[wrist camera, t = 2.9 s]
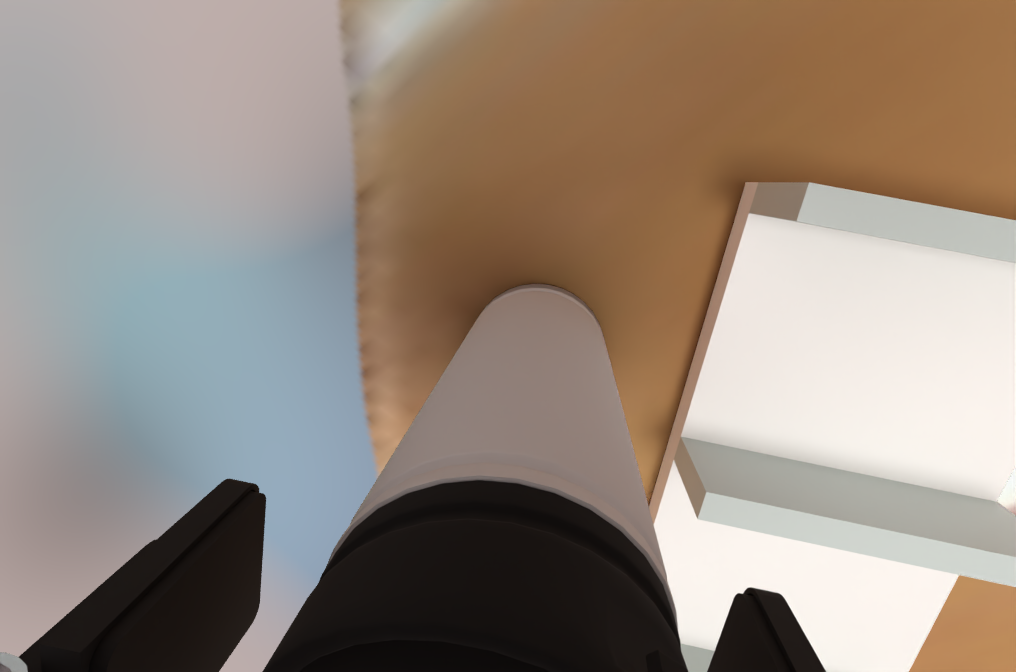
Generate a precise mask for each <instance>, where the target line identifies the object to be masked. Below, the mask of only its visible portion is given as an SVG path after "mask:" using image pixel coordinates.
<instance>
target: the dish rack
mask: <svg viewBox="0 0 1016 672" xmlns="http://www.w3.org/2000/svg"><path fill="white" fill-rule="evenodd" d="M1015 466H1016V220H1011V219H1006V218H1000V217H995V216H989V215H984V214H979V213H973V212H968V211H962V210H957V209H951V208H946V207H940V206H935V205H930V204H924V203H919V202H913V201H908V200H902V199H897V198H892V197H886V196H881V195H875V194H870V193H864V192H859V191H853V190H848V189H843V188H837V187H832V186H826V185H821V184H815V183H810V182H746V183H745V187H744V190H743V193H742V197H741V200H740V203H739V207H738V210H737V213H736V217H735V220H734V223H733V227H732V230H731V233H730V237H729V240H728V243H727V247H726V250H725V253H724V257H723V260H722V264H721V267H720V270H719V274H718V277H717V280H716V284H715V287H714V290H713V294H712V297H711V300H710V304H709V307H708V310H707V314H706V317H705V320H704V324H703V327H702V331H701V334H700V337H699V341H698V344H697V347H696V351H695V354H694V357H693V361H692V364H691V367H690V371H689V374H688V377H687V381H686V384H685V387H684V391H683V394H682V398H681V401H680V404H679V408H678V411H677V414H676V418H675V421H674V424H673V428H672V431H671V434H670V438H669V441H668V444H667V448H666V451H665V454H664V458H663V461H662V464H661V468H660V471H659V475H658V478H657V481H656V485H655V488H654V491H653V495H652V498H651V501H650V505H649V510H650V514H651V517H652V521H653V525H654V529H655V533H656V536H657V540H658V544H659V548H660V551H661V555H662V559H663V563H664V567H665V570H666V574H667V582H668V585H669V588H670V591H671V594H672V597H673V601H674V604H675V608H676V612H677V623H678V634H679V638H680V644H681V652H682V655H683V658H684V660H685V663H686V666H687V669H688V672H707V671H708V668H709V665H710V662H711V660H712V657H713V654H714V651H715V649H716V646H717V643H718V640H719V638H720V635H721V632H722V629H723V627H724V624H725V621H726V618H727V616H728V613H729V610H730V607H731V605H732V602H733V599H734V597H735V595H736V594H737V593H742V594H743V593H744V591H745V590H746V589H747V588H749V587H752V588H757V589H762V590H767V591H771V592H776V593H779V594H781V595H782V596H783V597H784V598H785V600H786V602H787V603H788V605H789V607H790V609H791V610H792V612H793V614H794V616H795V617H796V619H797V621H798V623H799V625H800V626H801V628H802V630H803V632H804V633H805V635H806V637H807V639H808V640H809V642H810V644H811V646H812V647H813V649H814V651H815V653H816V655H817V656H818V658H819V660H820V662H821V663H822V665H823V667H824V669H825V670H826V672H909V670H910V668H911V666H912V664H913V662H914V660H915V659H916V657H917V655H918V653H919V651H920V649H921V647H922V645H923V643H924V641H925V639H926V637H927V635H928V634H929V632H930V630H931V628H932V626H933V624H934V622H935V620H936V618H937V616H938V614H939V612H940V611H941V609H942V607H943V605H944V603H945V601H946V599H947V597H948V595H949V593H950V591H951V589H952V587H953V586H954V584H955V582H956V580H957V578H958V576H959V575H962V576H966V577H971V578H976V579H980V580H985V581H990V582H995V583H999V584H1004V585H1009V586H1013V587H1016V515H1014V514H1013V513H1012V512H1010V511H1009V510H1007V509H1006V508H1005V507H1003V506H1002V505H1001V504H999V503H998V502H997V501H998V499H999V497H1000V495H1001V493H1002V491H1003V489H1004V488H1005V486H1006V484H1007V482H1008V480H1009V478H1010V476H1011V474H1012V472H1013V470H1014V468H1015Z"/></svg>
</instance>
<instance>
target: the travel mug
mask: <svg viewBox="0 0 1016 672" xmlns="http://www.w3.org/2000/svg"><path fill="white" fill-rule="evenodd" d="M263 672H688V669H687V666H686V663H685V660H684V658H683V655H682V652H681V644H680V638H679V634H678V623H677V612H676V608H675V604H674V601H673V597H672V594H671V591H670V588H669V585H668V582H667V574H666V570H665V567H664V563H663V559H662V555H661V551H660V548H659V544H658V540H657V536H656V533H655V529H654V525H653V521H652V517H651V514H650V510H649V506H648V502H647V499H646V495H645V491H644V487H643V483H642V480H641V476H640V472H639V468H638V465H637V461H636V457H635V453H634V449H633V446H632V442H631V438H630V434H629V431H628V427H627V423H626V419H625V415H624V412H623V408H622V404H621V400H620V397H619V393H618V389H617V385H616V381H615V378H614V374H613V370H612V366H611V363H610V359H609V355H608V351H607V347H606V344H605V340H604V336H603V333H602V330H601V327H600V324H599V322H598V320H597V318H596V317H595V315H594V313H593V312H592V310H591V309H590V308H589V307H588V306H587V305H586V304H585V303H584V302H583V301H582V300H581V299H579V298H578V297H577V296H575V295H574V294H573V293H570V292H568V291H566V290H564V289H562V288H559V287H555V286H551V285H547V284H528V285H521V286H518V287H515V288H512V289H509V290H507V291H505V292H503V293H502V294H500V295H498V296H497V297H495V298H494V299H493V300H492V301H491V302H490V303H489V304H488V305H487V306H486V307H485V308H484V310H483V311H482V312H481V314H480V315H479V317H478V318H477V320H476V321H475V323H474V325H473V326H472V328H471V329H470V331H469V333H468V334H467V336H466V337H465V339H464V341H463V342H462V344H461V345H460V347H459V349H458V350H457V352H456V354H455V355H454V357H453V358H452V360H451V362H450V363H449V365H448V366H447V368H446V370H445V371H444V373H443V374H442V376H441V378H440V379H439V381H438V382H437V384H436V386H435V387H434V389H433V390H432V392H431V394H430V395H429V397H428V398H427V400H426V402H425V403H424V405H423V407H422V408H421V410H420V411H419V413H418V415H417V416H416V418H415V419H414V421H413V423H412V424H411V426H410V427H409V429H408V431H407V432H406V434H405V435H404V437H403V439H402V440H401V442H400V443H399V445H398V447H397V448H396V450H395V451H394V453H393V455H392V456H391V458H390V460H389V461H388V463H387V464H386V466H385V468H384V469H383V471H382V472H381V474H380V476H379V477H378V479H377V480H376V482H375V484H374V485H373V487H372V489H371V490H370V492H369V493H368V495H367V496H366V498H365V500H364V501H363V503H362V504H361V506H360V508H359V509H358V511H357V513H356V514H355V516H354V517H353V519H352V522H351V524H350V526H349V527H348V529H347V530H346V531H345V533H344V534H343V535H342V537H341V538H340V540H339V541H338V543H337V545H336V546H335V548H334V550H333V552H332V554H331V557H330V559H329V561H328V564H327V566H326V569H325V570H324V572H323V574H322V576H321V578H320V581H319V583H318V585H317V586H316V588H315V589H314V590H313V592H312V593H311V594H310V596H309V597H308V598H307V600H306V601H305V603H304V605H303V606H302V608H301V610H300V611H299V613H298V615H297V616H296V618H295V620H294V621H293V623H292V624H291V626H290V628H289V630H288V631H287V633H286V634H285V636H284V638H283V639H282V641H281V643H280V644H279V646H278V647H277V649H276V651H275V652H274V654H273V656H272V657H271V659H270V660H269V662H268V664H267V665H266V667H265V669H264V670H263Z"/></svg>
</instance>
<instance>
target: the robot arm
mask: <svg viewBox="0 0 1016 672" xmlns="http://www.w3.org/2000/svg"><path fill="white" fill-rule="evenodd" d="M265 508H266V497H265V495H264V494H262V493H259V488H258V486H257V485H256V484H253V483H247V482H243V481H238V480H233V479H226V480H224V481H223V482H221V484H219V485H218V486H217V487H216V488H215V489H214V490H212V491H211V492H210V493H209V494H208V495H207V496H206V497H204V498H203V499H202V500H201V501H200V502H199V503H198V504H197V505H195V506H194V507H193V508H192V509H191V510H190V511H189V512H188V513H186V514H185V515H184V516H183V517H182V518H181V519H180V520H178V521H177V522H176V523H175V524H174V525H173V526H172V527H171V528H170V529H168V530H167V531H166V532H165V533H164V534H163V535H162V536H160V537H159V538H158V539H157V540H153V541H152V542H150V543H149V544H148V545H146V546H145V547H144V548H143V549H141V550H140V551H139V552H138V553H137V554H136V555H134V556H133V557H132V558H131V559H130V560H129V561H128V562H126V563H125V565H123V566H122V567H121V568H120V569H119V570H117V571H116V572H115V573H114V574H113V575H112V576H111V577H109V578H108V579H107V580H106V581H105V582H104V583H103V584H101V585H100V586H99V587H98V588H97V589H96V590H95V591H93V592H92V593H91V594H90V595H89V596H88V597H87V598H86V599H84V600H83V601H82V602H81V603H80V604H79V605H77V606H76V607H75V608H74V609H73V610H72V611H71V612H69V614H67V615H66V616H65V617H64V618H63V619H61V620H60V621H59V622H58V623H57V624H56V625H55V626H54V627H52V628H51V629H50V630H49V631H48V632H47V633H46V634H44V636H42V637H41V638H40V639H39V640H38V641H36V642H35V643H34V644H33V645H32V646H31V647H29V648H28V649H27V650H26V651H25V652H24V653H23V654H21V655H20V656H19V657H17V656H14V655H11V654H8V653H2V652H0V672H219V671H220V669H221V668H222V666H223V665H224V663H225V662H226V661H227V659H228V658H229V656H230V655H231V653H232V652H233V650H234V649H235V648H236V646H237V645H238V643H239V642H240V640H241V639H242V637H243V636H244V635H245V633H246V632H247V630H248V629H249V627H250V626H251V624H252V623H253V621H254V619H255V617H256V614H257V612H258V608H259V603H260V588H261V573H262V572H261V571H262V556H263V541H264V524H265ZM707 672H826V670H825V669H824V667H823V665H822V663H821V662H820V660H819V658H818V656H817V655H816V653H815V651H814V649H813V647H812V646H811V644H810V642H809V640H808V639H807V637H806V635H805V633H804V632H803V630H802V628H801V626H800V625H799V623H798V621H797V619H796V617H795V616H794V614H793V612H792V610H791V609H790V607H789V605H788V603H787V602H786V600H785V598H784V597H783V596H782V595H781V594H779V593H776V592H771V591H767V590H762V589H757V588H752V587H749V588H747V589H746V590H745V591H744V593H743V594H742V593H737V594H736V595H735V597H734V599H733V602H732V605H731V607H730V610H729V613H728V616H727V618H726V621H725V624H724V627H723V629H722V632H721V635H720V638H719V640H718V643H717V646H716V649H715V651H714V654H713V657H712V660H711V662H710V665H709V668H708V671H707Z"/></svg>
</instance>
